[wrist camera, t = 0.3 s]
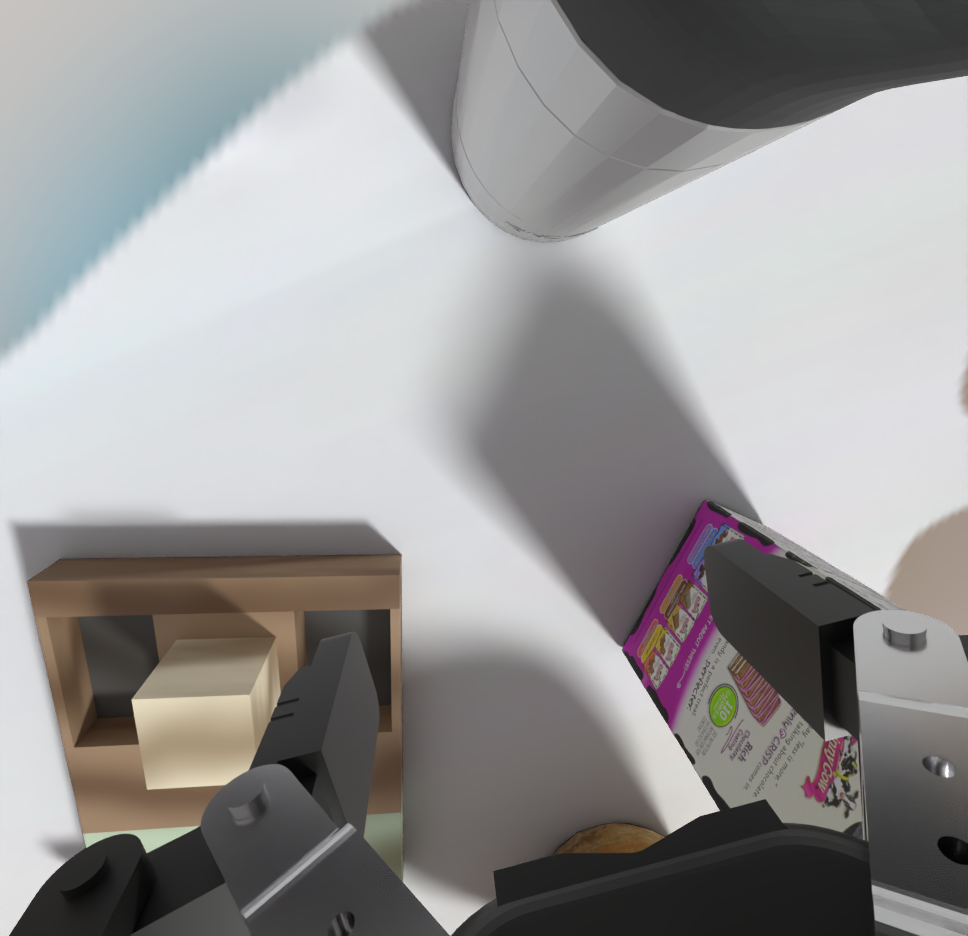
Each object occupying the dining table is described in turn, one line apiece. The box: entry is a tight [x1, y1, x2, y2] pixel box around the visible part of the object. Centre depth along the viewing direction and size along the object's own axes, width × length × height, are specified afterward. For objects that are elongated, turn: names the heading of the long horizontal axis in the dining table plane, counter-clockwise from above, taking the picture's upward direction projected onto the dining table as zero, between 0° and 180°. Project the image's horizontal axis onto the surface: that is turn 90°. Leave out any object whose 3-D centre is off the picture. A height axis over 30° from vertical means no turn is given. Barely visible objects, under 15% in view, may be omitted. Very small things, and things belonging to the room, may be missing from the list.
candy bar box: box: [622, 500, 907, 840], centre depth 26 cm, size 11×5×16 cm, turn 156°
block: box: [132, 637, 281, 790], centre depth 27 cm, size 5×5×4 cm
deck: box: [27, 555, 403, 882], centre depth 30 cm, size 24×18×5 cm
